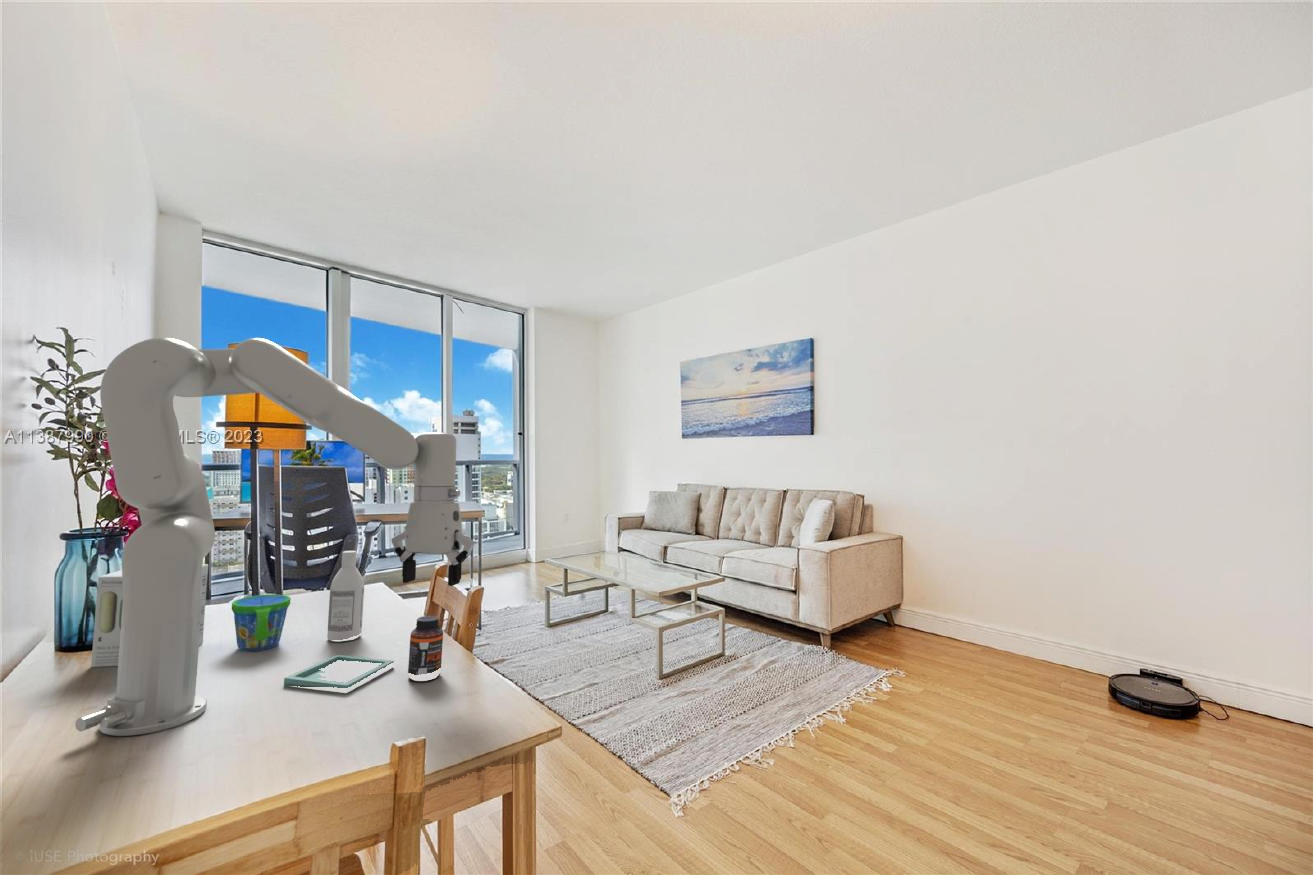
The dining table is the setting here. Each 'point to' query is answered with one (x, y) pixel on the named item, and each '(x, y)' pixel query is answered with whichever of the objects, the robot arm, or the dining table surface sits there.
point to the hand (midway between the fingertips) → (431, 583)
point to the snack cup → (259, 621)
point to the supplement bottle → (425, 646)
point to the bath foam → (346, 600)
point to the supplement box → (119, 618)
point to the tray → (310, 676)
